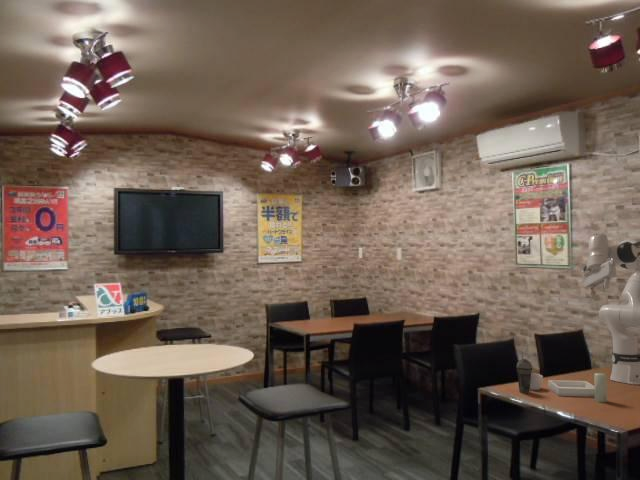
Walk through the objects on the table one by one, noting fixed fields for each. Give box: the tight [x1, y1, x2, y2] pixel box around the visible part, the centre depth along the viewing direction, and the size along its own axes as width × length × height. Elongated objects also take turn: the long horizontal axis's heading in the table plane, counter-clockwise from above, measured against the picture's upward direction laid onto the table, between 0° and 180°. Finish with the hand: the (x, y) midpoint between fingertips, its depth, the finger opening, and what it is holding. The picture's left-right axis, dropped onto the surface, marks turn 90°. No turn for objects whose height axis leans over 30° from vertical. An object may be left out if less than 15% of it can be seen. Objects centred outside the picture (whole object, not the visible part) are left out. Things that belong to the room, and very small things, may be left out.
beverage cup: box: [516, 349, 533, 394], centre depth 262 cm, size 7×7×20 cm
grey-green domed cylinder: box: [593, 372, 608, 403], centre depth 246 cm, size 5×5×12 cm
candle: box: [530, 373, 544, 391], centre depth 269 cm, size 9×9×6 cm
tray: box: [547, 379, 594, 398], centre depth 262 cm, size 18×16×4 cm
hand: (599, 291), depth 256 cm, fingers open, 8 cm apart
